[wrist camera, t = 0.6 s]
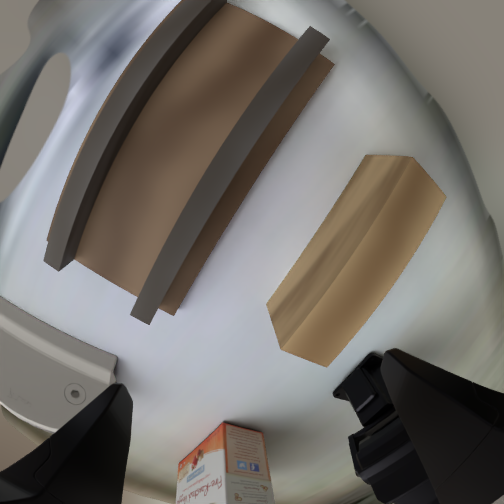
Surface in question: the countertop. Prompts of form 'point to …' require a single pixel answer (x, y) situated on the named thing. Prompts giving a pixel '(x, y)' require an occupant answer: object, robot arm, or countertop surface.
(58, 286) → the countertop surface
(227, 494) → the cracker box
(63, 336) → the grey upright panel
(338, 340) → the wooden block
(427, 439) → the robot arm
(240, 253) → the countertop surface
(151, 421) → the countertop surface
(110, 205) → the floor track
